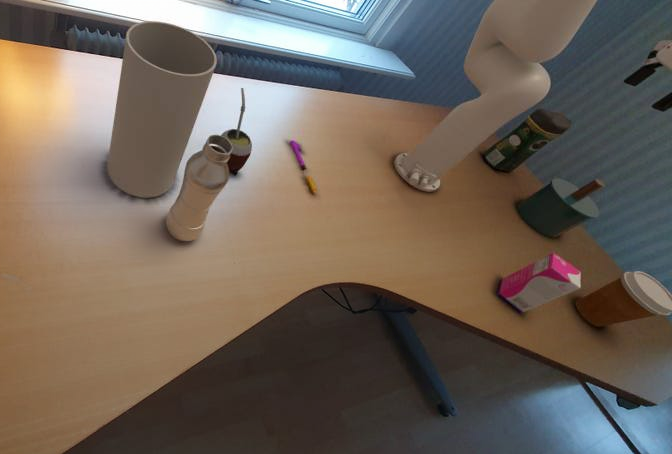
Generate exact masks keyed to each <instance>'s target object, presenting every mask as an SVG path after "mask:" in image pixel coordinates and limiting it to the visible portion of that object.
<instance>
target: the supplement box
mask: <svg viewBox="0 0 672 454" xmlns="http://www.w3.org/2000/svg"><path fill="white" fill-rule="evenodd" d="M581 273H582V272H581V271H580V270H579V269H578V268H576V267H575V266H573V265H572V264H570V263H569V262H567V261H566V260H565V259H563V258H562V257H561V256H559V255H558V254H556V253H555V252H552V253H550V254H548V255H546V256H544V257H542V258H540V259H538V260H535V261H534V262H532V263H530V264H528V265H526V266H525V267H523V268H520V269H519V270H516V271H515V272H513V273H511V274H509V275H507V276H505V277H503V278H501V280H500V283H499V286H498V290H497V293H496V295H497V296H498V297H499V298H500V299H502V300H503V301H505V302H506V303H507V304H508V305H510V306H511V307H512V308H514V309H515V310H516V311H517V312H518V313H520V314H523V313H526V312H528V311H530V310H533V309H535V308H537V307H540V306H542V305H544V304H547V303H549V302H552V301H554V300H556V299H559V298H561V297H563V296H565V295H568V294H570V293H573V292H575V291H578V290H580V289H581V287H582V286H581Z"/></svg>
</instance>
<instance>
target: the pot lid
mask: <svg viewBox="0 0 672 454" xmlns="http://www.w3.org/2000/svg"><path fill="white" fill-rule="evenodd" d="M549 184H550V186H551V188H552V190H553V192H554V193H555V194H556V196H557V197H558V198H559V199H560V200H561V201H562V202H563V203H564V204H566V205H567V206H568V207H569V208H571V209H572V210H573V211H575V212H577V213H578V214H580V215H582V216H585V217H587V218H592V219H593V220H594V219H596V218H598V217H599V216H600V209H599V208H598V205H597V204H596V203H595V202H594V201H593V199H591V197H590V196H591V195H593V194H595V193H596V192H598V191H599V190H601V189H603V188H605V187H606V185H605V183H604V182H603V181H601V180H600V179H597V178H595V179H594V180H592V181H590V182H589V183H587V184H585V185H583V186H582V187H580V188H579V187H578V186H576V185H575V184H573V183H571V182H569V181H567V180H565V179H562V178H553V179H551V180H550V182H549ZM592 219H591V220H592Z"/></svg>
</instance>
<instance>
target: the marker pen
mask: <svg viewBox="0 0 672 454" xmlns="http://www.w3.org/2000/svg"><path fill="white" fill-rule="evenodd" d="M289 145H290V147H291V150H292V151H293V153H294V155H295V157H296V160H297V161H298V164H299V167H300V168H301V170H302V171H304V173H305V175H306V178H305V180H306V182H307V184H308V186H309V188H310V190H311V192H313V194H314V195H317V194H318V193H317V192H318V191H317V188H316V186H315V184H314V180H313V177H312V176H309V174H308V173H307V167H306V163H305V161H304V160H303V157H302V155H301V153H300V152H302V151H303V150H302V147H301V145H300V144H298V143H297V141H295V140H290V142H289Z"/></svg>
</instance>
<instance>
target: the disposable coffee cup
mask: <svg viewBox="0 0 672 454" xmlns="http://www.w3.org/2000/svg"><path fill="white" fill-rule="evenodd" d="M575 307H576V309H577V311H578V313H579V315H580V316H581V317H582V318H583V319H584V320H585V321H587V323H589V324H590V325H592V326H593V327H594V326H595V327H599V328H601V327H605V326H609V325H614V324H621V323H624V322H625V323H626V322H630V321H635V320H641V319H645V318H650V317H657V316H669V315H671V314H672V293H670V291H669V290H668V289H667V288H666V287H665V286H664V285H663V284H662V283H661V282H659V281H658V280H657V279H656V278H654V277H653V276H651V275H649V274H648V273H646V272H644V271H641V270H636V271H626V272H624V273H623V274H622V275H621V276H620V277H619V278H617V279H615V280H614V281H610V282H609V283H607V284H606V285H604V286H602V287H599V288H598V289H596V290H594V291H592V292H591V293H589V294H587V295H585V296H583V297H581V298H579V299H577V300H575Z"/></svg>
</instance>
